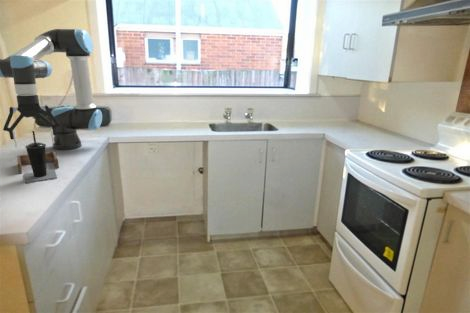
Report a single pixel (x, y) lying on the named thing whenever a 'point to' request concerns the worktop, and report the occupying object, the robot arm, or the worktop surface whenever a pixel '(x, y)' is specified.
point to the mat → (30, 177)
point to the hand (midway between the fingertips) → (35, 144)
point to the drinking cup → (37, 157)
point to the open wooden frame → (25, 160)
